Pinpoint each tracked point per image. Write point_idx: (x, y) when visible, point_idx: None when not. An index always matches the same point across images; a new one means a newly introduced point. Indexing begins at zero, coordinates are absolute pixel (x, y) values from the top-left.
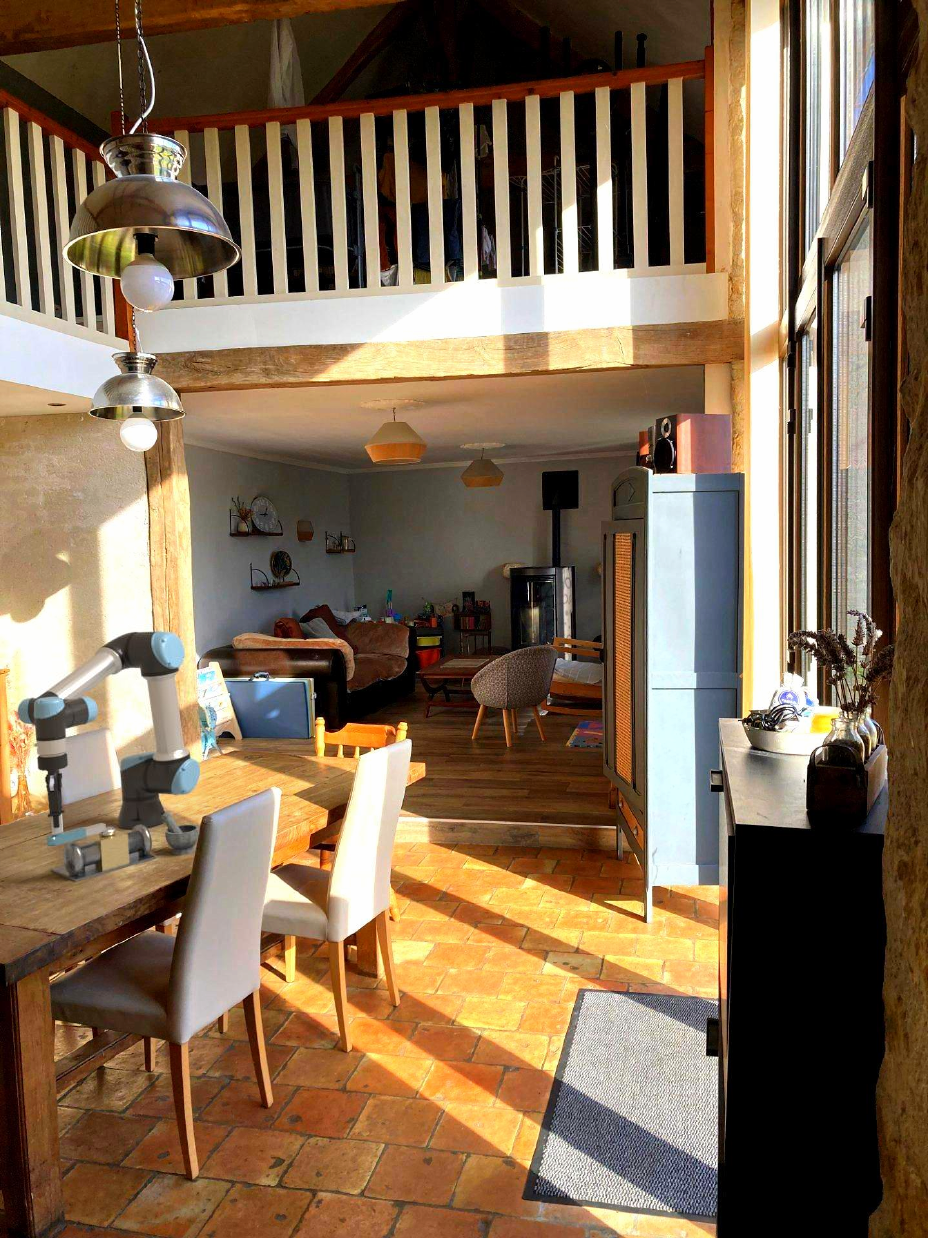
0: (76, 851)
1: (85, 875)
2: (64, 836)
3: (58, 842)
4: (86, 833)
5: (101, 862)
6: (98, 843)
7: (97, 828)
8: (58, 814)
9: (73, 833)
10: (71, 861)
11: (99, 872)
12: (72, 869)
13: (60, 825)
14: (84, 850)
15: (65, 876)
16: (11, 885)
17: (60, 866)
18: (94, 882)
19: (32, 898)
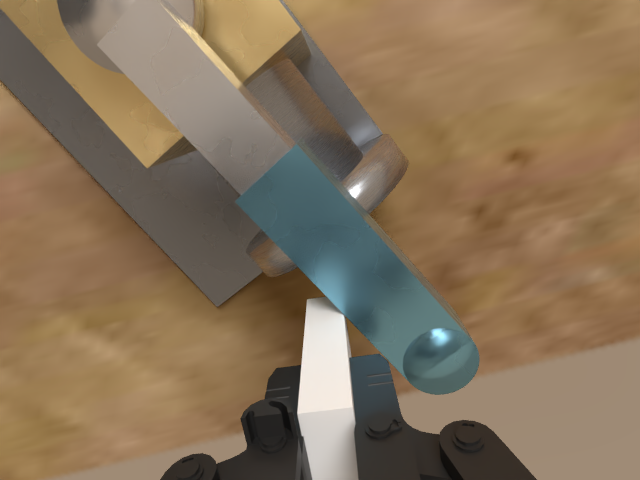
0: (395, 178)
1: (358, 128)
2: (420, 279)
3: (443, 299)
4: (290, 140)
5: (304, 53)
6: (274, 59)
7: (213, 60)
8: (488, 437)
9: (372, 226)
10: None
11: (330, 65)
12: None
13: (348, 356)
14: (330, 143)
15: None
16: None
17: (194, 275)
18: (440, 66)
19: (558, 288)
